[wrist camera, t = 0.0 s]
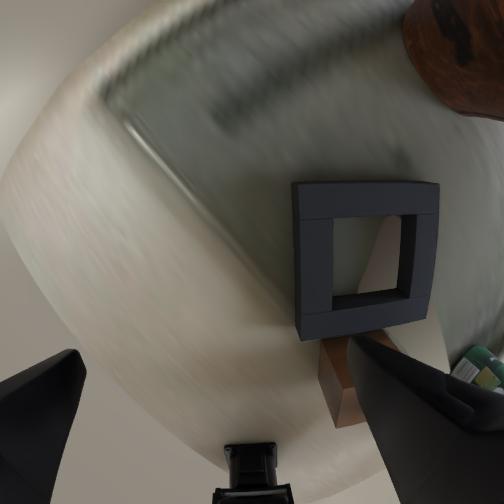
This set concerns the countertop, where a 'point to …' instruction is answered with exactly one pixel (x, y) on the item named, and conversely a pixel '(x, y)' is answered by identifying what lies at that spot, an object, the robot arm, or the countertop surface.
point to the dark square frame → (321, 254)
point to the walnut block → (343, 378)
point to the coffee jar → (480, 369)
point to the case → (460, 52)
